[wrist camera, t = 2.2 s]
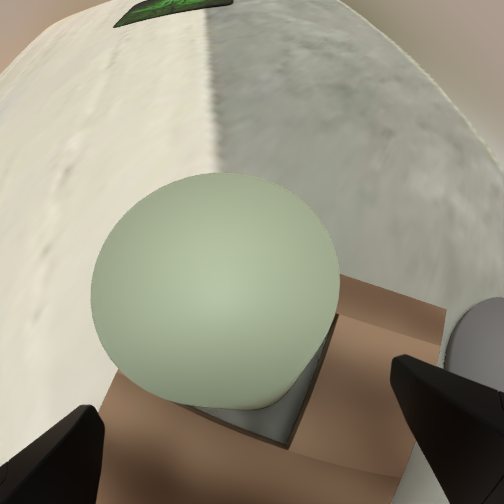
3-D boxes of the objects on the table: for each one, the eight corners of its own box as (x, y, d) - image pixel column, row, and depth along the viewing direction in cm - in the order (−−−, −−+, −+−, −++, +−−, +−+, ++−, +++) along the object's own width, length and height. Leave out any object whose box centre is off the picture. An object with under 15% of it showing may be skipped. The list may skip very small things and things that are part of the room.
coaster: (526, 440, 13) (534, 439, 12) (427, 426, 15) (434, 426, 14) (541, 319, 17) (549, 315, 16) (455, 286, 19) (461, 280, 18)
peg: (276, 423, 16) (283, 451, 5) (189, 387, 17) (54, 331, 6) (309, 338, 18) (364, 208, 7) (225, 308, 20) (164, 155, 8)
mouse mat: (110, 31, 51) (108, 27, 50) (134, 5, 61) (134, 2, 60) (233, 6, 50) (233, 2, 49) (233, -13, 60) (233, -16, 60)
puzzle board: (313, 594, 10) (318, 616, 7) (85, 500, 13) (60, 507, 11) (425, 324, 18) (446, 309, 16) (202, 250, 22) (193, 226, 19)
